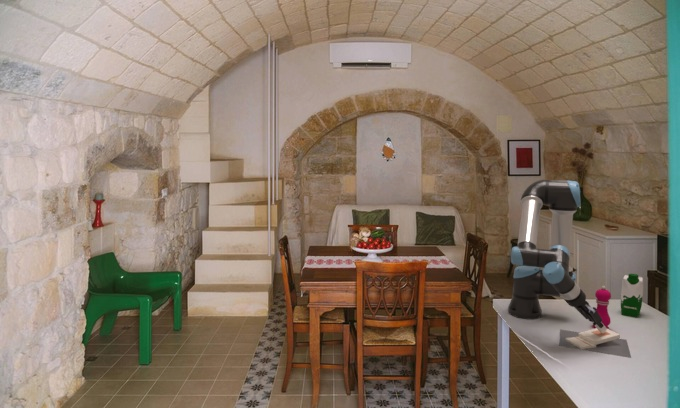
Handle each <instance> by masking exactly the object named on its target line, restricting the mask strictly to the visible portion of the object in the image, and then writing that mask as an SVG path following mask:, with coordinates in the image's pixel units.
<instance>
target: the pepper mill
mask: <svg viewBox="0 0 680 408" xmlns="http://www.w3.org/2000/svg"><path fill="white" fill-rule="evenodd" d="M594 295H595V297H596V301H595V303H596V310H597V312H598V314H599V315H600V317H601V318H602V323H603V324H604V326H605V327H606V328H607V329H609V328H610V327H609V326H610V324H611V323H612V322H611V317H610V314H609V312H608V311H609V310H608V306H609V305H610V300H611V298H612V295H611V291H609V290H608V289H607V287H606V286H605V285H602V286H601V288H599V289H597V290H596V291H595V294H594ZM595 328H596V327H595V326H594V325H593V324H592V329H595ZM609 330H610V329H609Z"/></svg>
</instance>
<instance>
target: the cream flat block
mask: <svg viewBox="0 0 680 408" xmlns="http://www.w3.org/2000/svg"><path fill="white" fill-rule="evenodd" d="M579 337H581V338H583V339H585V340H587V341H589V342H590V343H592V344H594V345H597V344H600V343H604V342H607V341H611V340H614V339H618V338H619V339H621V334H619V333H618V332H615V331H614V330H612V329H607V330H606V331H605V332H604V333H603V334H602V333H600V331H599V330H598V329H597V328H591V329H589V330H585V331H584V330H583V331H582V332H581V333H579Z"/></svg>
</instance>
